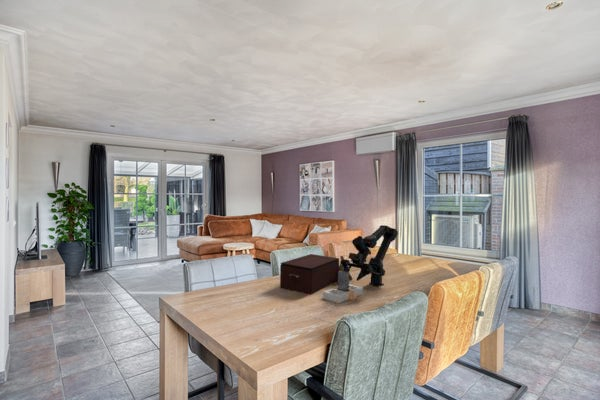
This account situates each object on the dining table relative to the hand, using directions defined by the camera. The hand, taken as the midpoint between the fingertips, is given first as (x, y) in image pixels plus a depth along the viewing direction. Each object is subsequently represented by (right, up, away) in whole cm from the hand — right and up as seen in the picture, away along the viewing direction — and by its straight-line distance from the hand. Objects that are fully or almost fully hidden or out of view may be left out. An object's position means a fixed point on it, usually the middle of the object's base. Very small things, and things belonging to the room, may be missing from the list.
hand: (350, 278), depth 178 cm
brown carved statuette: (+1, -8, +27) cm, 28 cm away
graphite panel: (-4, -8, -4) cm, 10 cm away
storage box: (-22, -8, +18) cm, 30 cm away
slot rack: (-4, -8, -4) cm, 10 cm away
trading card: (-12, -10, -30) cm, 34 cm away
